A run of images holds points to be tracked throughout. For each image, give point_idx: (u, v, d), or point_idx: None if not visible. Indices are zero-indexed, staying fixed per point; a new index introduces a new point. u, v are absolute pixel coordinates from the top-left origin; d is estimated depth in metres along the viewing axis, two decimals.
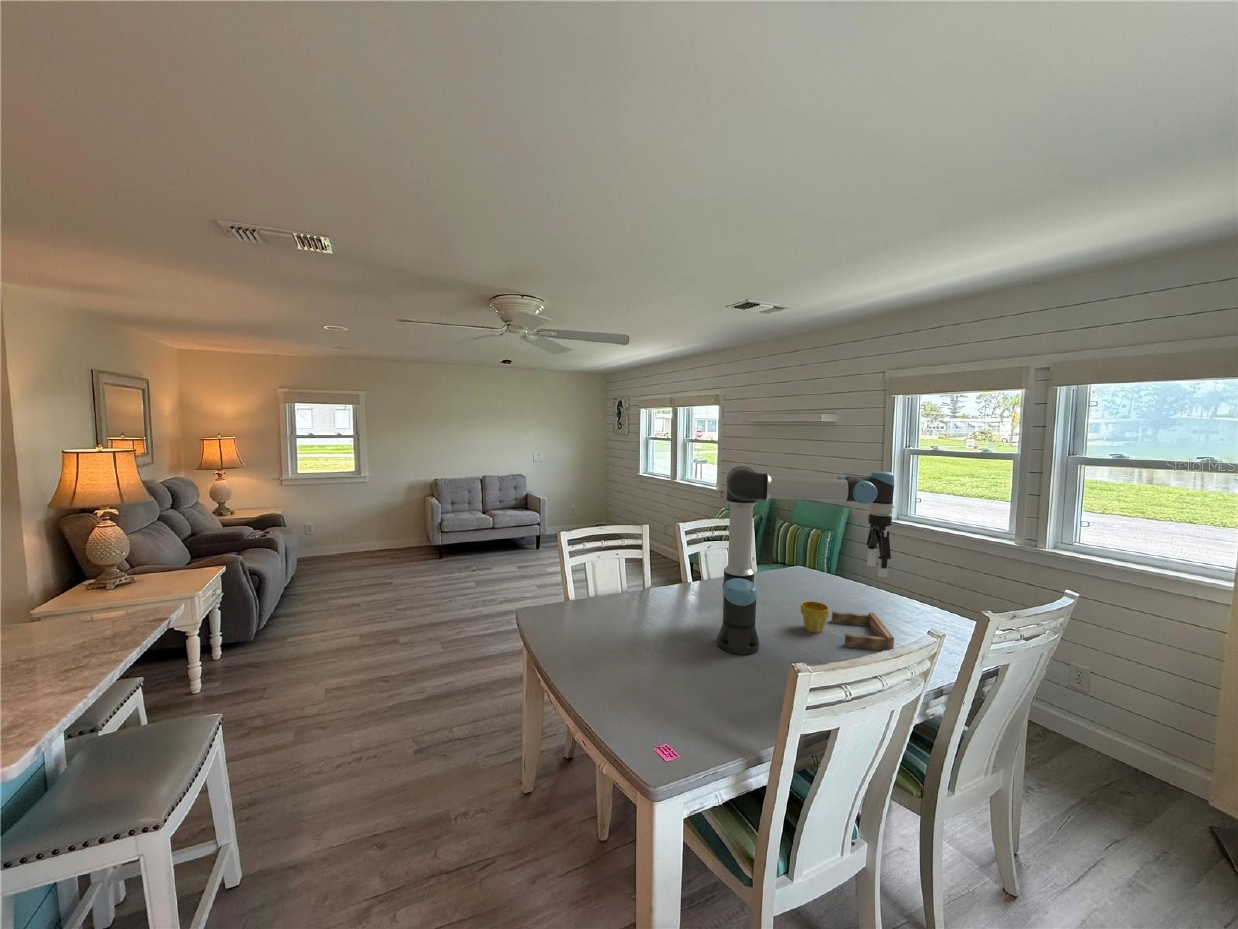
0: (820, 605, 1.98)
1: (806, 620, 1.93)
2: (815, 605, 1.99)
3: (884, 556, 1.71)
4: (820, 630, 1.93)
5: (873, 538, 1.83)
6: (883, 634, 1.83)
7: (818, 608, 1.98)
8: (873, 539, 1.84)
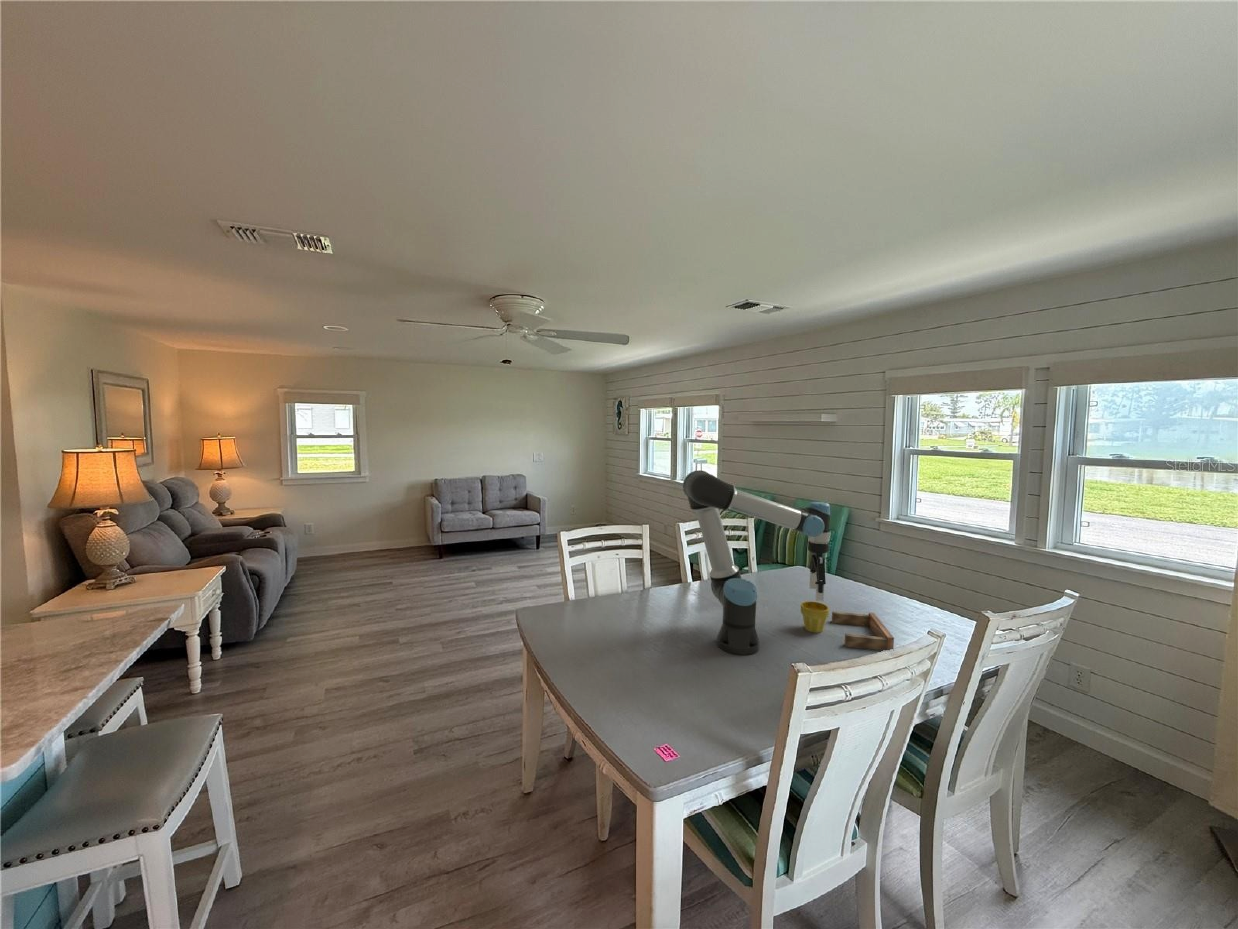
0: (820, 605, 1.98)
1: (806, 620, 1.93)
2: (815, 605, 1.99)
3: (819, 582, 1.84)
4: (820, 630, 1.93)
5: (813, 563, 1.97)
6: (883, 634, 1.83)
7: (818, 608, 1.98)
8: (813, 564, 1.97)
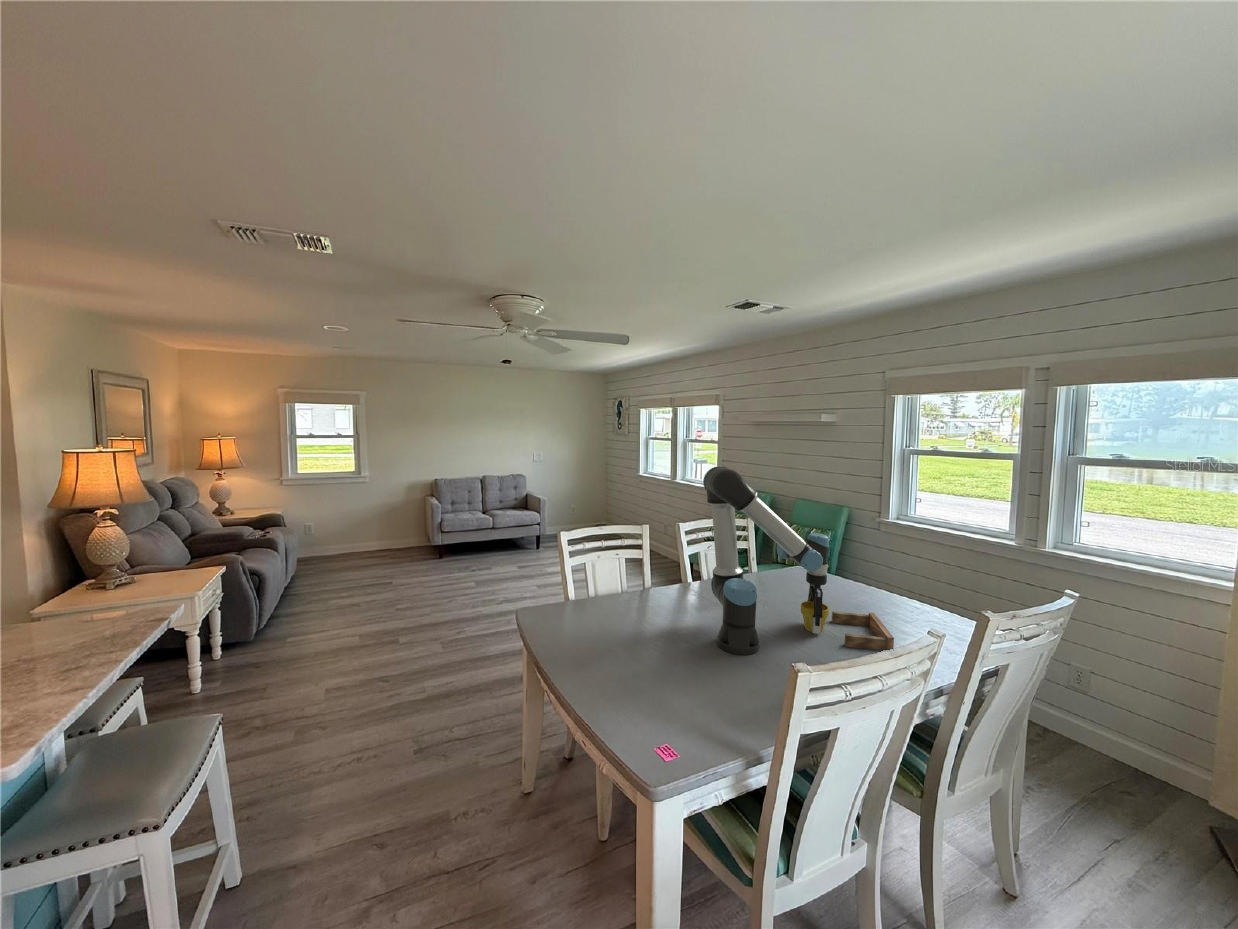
0: None
1: (806, 620, 1.93)
2: None
3: (816, 616, 1.87)
4: (820, 630, 1.93)
5: (812, 595, 1.98)
6: (883, 634, 1.83)
7: None
8: (812, 596, 1.98)
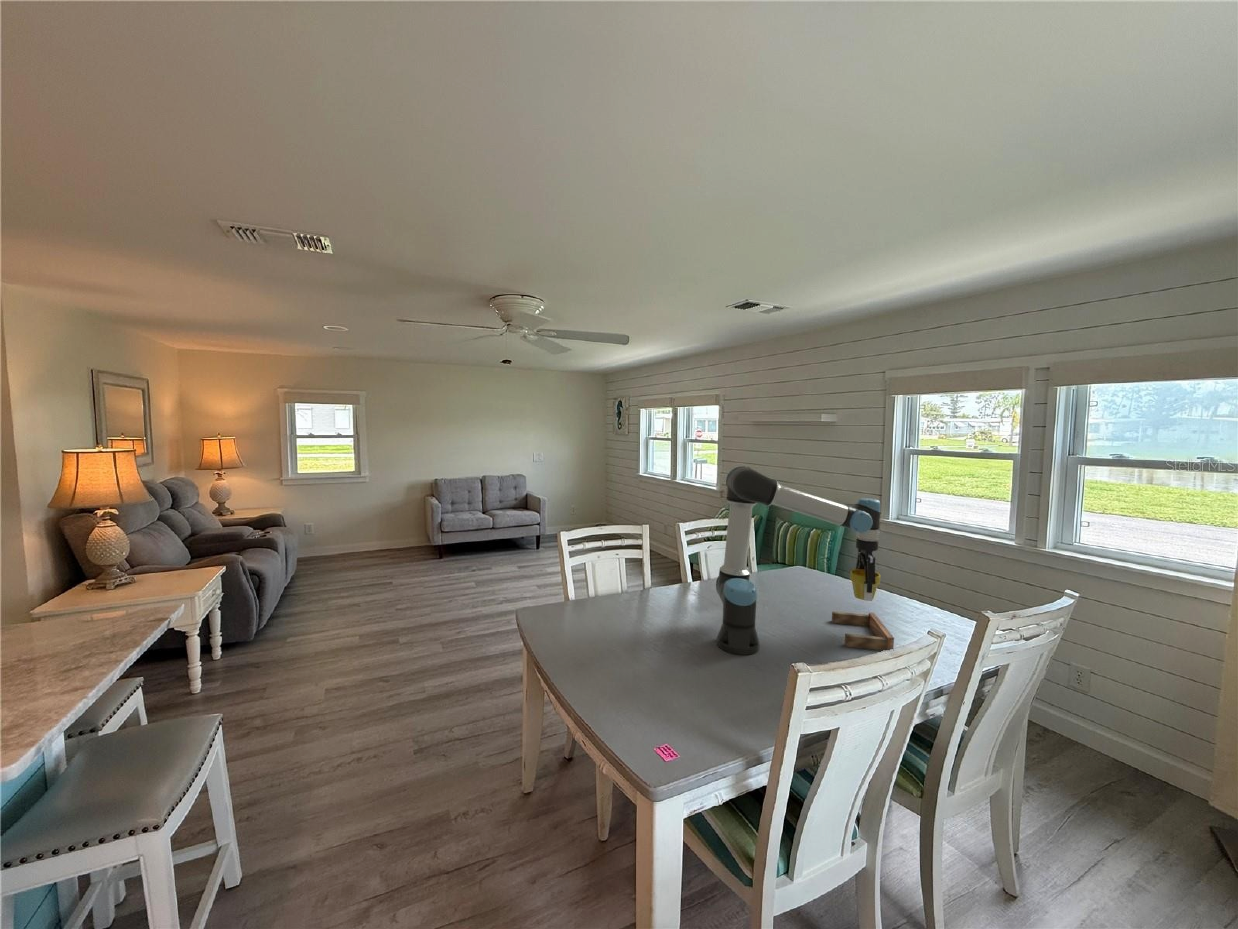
0: None
1: (857, 587, 1.88)
2: None
3: (869, 582, 1.81)
4: None
5: (861, 562, 1.92)
6: (883, 634, 1.83)
7: None
8: (861, 564, 1.92)
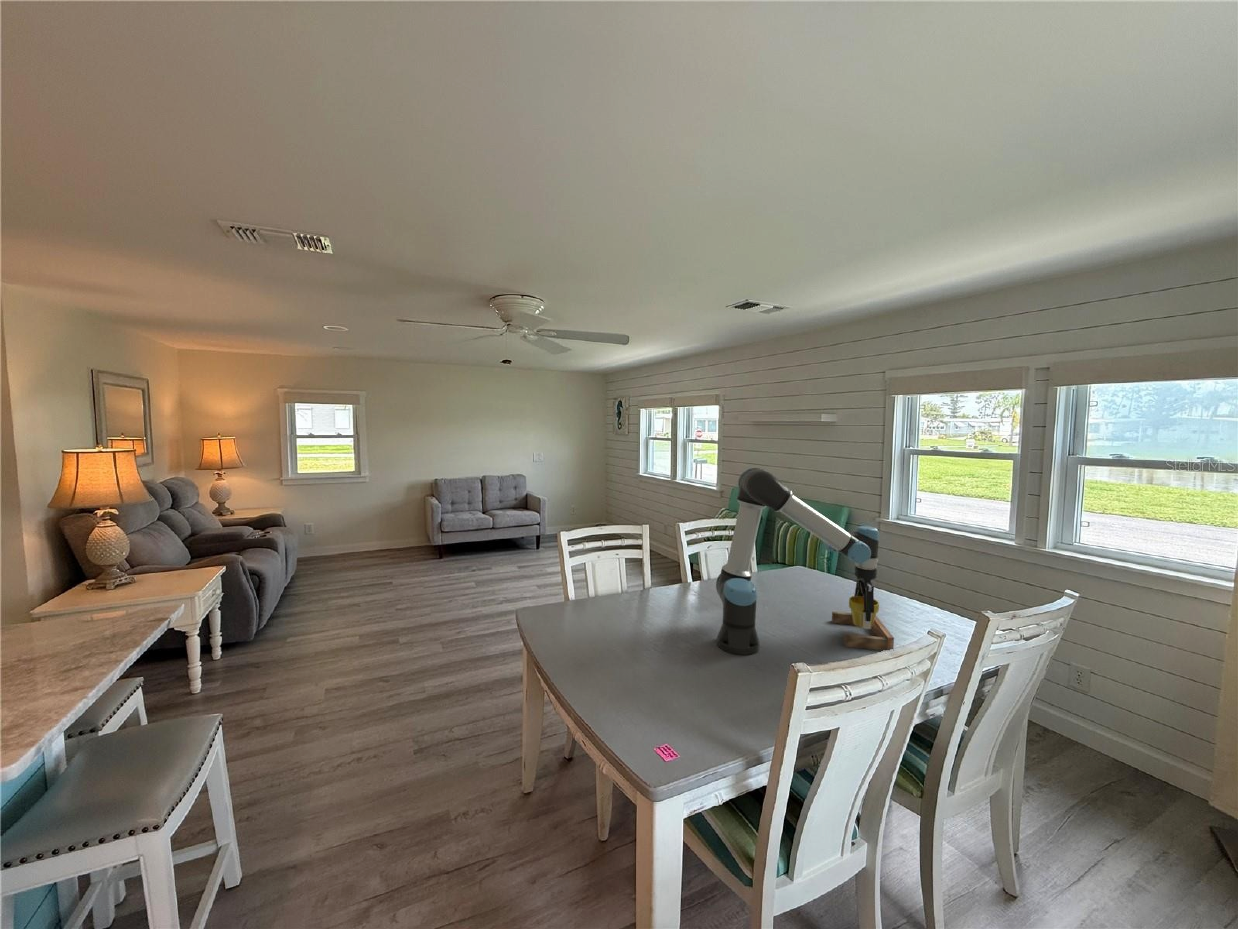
0: None
1: (856, 615, 1.89)
2: None
3: (868, 611, 1.82)
4: None
5: (860, 590, 1.93)
6: (883, 634, 1.83)
7: None
8: (860, 591, 1.93)
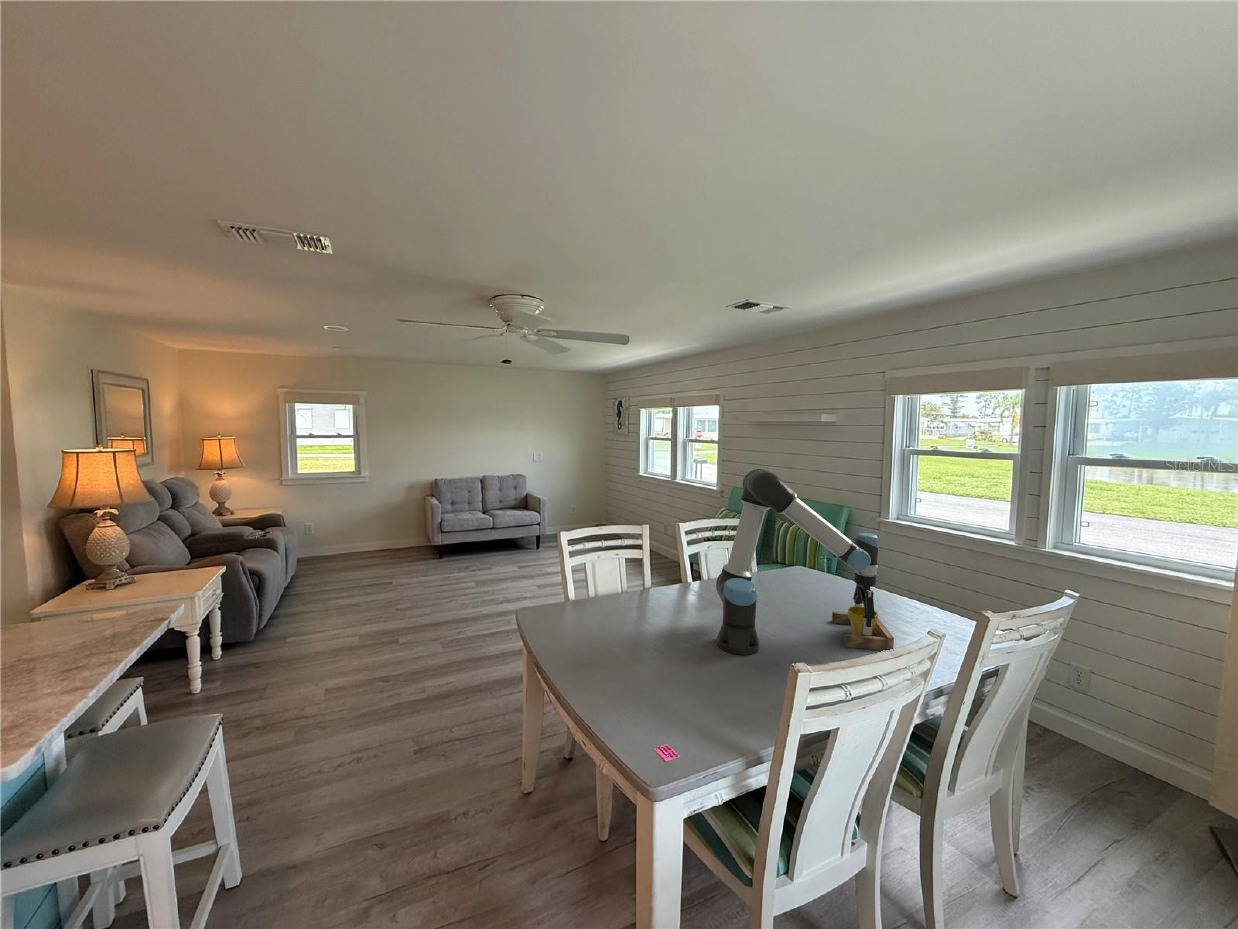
0: None
1: (855, 625, 1.89)
2: (863, 611, 1.94)
3: (868, 616, 1.81)
4: None
5: (859, 595, 1.93)
6: (883, 634, 1.83)
7: None
8: (859, 596, 1.94)
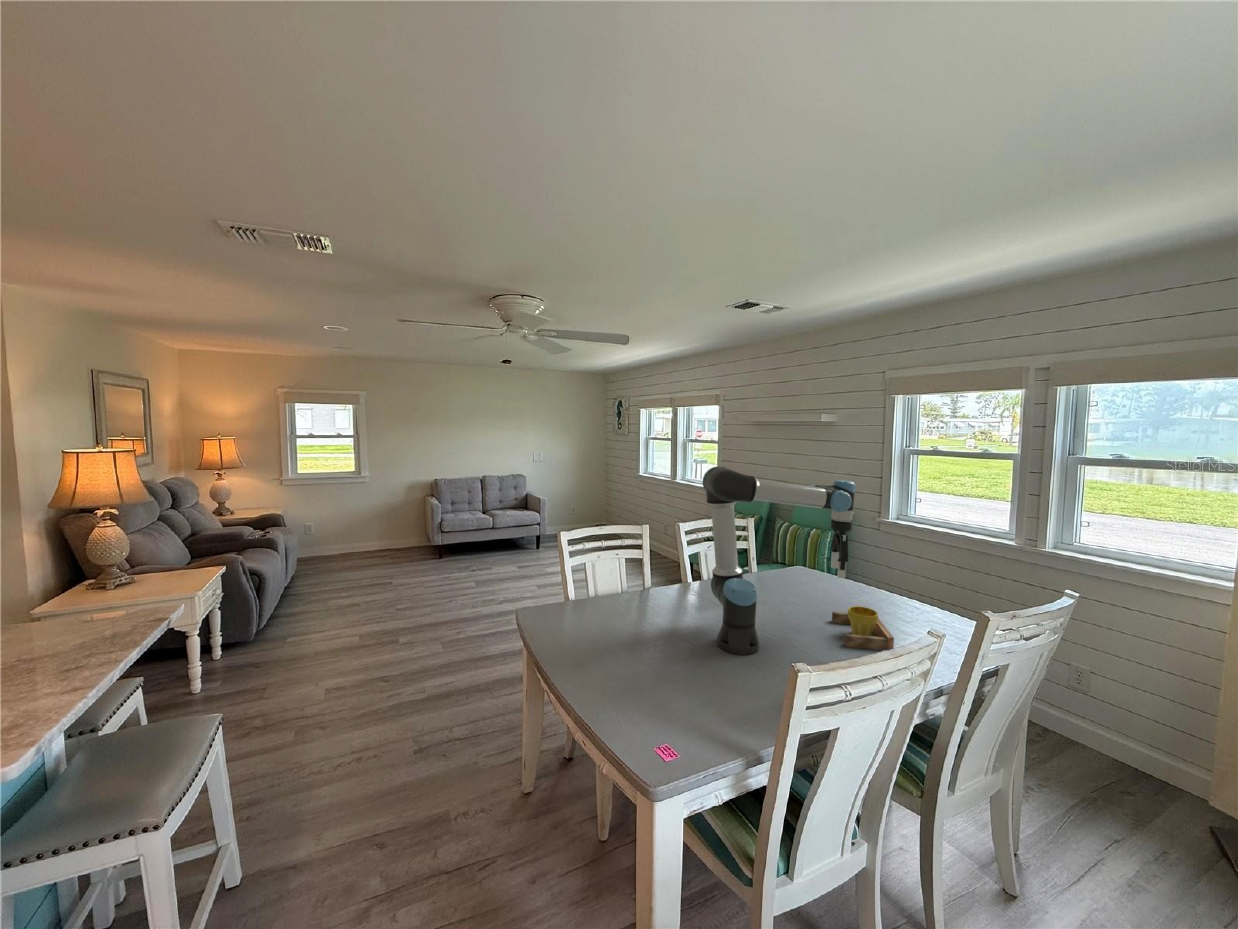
0: (868, 610, 1.93)
1: (855, 625, 1.89)
2: (863, 611, 1.94)
3: (842, 559, 1.84)
4: None
5: (835, 542, 1.97)
6: (883, 634, 1.83)
7: (865, 613, 1.94)
8: (835, 543, 1.97)
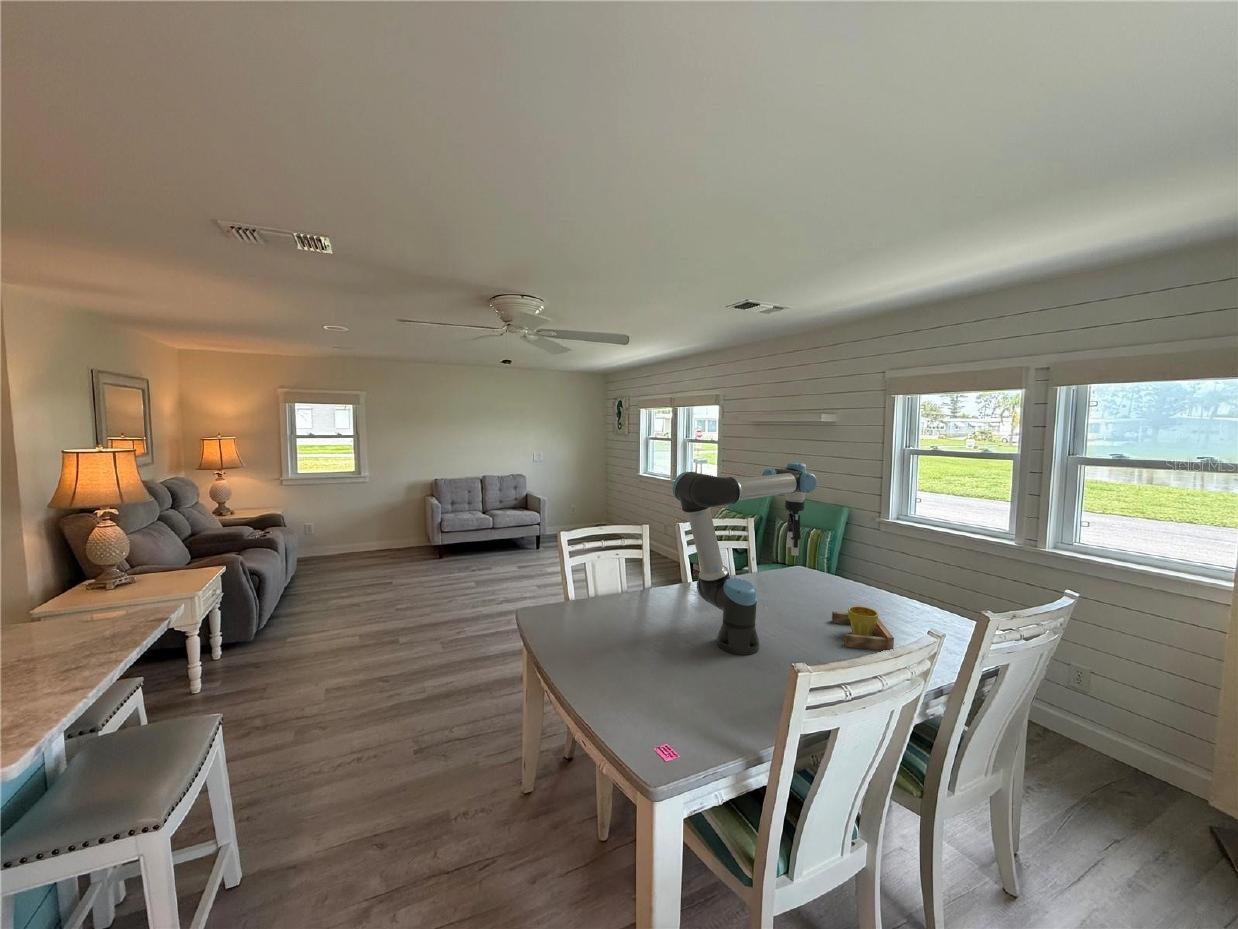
0: (868, 610, 1.93)
1: (855, 625, 1.89)
2: (863, 611, 1.94)
3: (794, 537, 1.94)
4: None
5: None
6: (883, 634, 1.83)
7: (866, 613, 1.94)
8: (790, 523, 2.07)
